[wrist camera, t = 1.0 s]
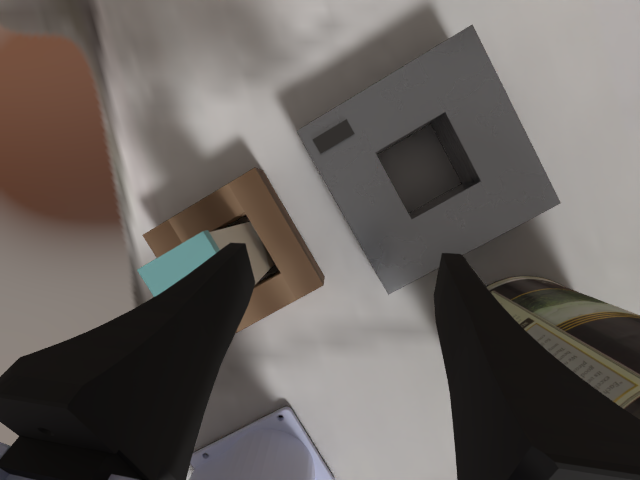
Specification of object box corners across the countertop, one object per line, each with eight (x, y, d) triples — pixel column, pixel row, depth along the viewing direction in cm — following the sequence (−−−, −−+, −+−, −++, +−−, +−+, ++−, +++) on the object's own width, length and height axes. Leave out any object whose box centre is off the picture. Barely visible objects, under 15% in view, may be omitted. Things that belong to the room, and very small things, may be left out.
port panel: (381, 282, 24) (389, 295, 21) (301, 139, 23) (295, 129, 20) (531, 202, 23) (564, 203, 20) (453, 48, 22) (474, 21, 19)
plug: (234, 287, 25) (179, 336, 16) (208, 244, 25) (137, 269, 16) (277, 263, 24) (244, 300, 16) (251, 219, 24) (202, 231, 15)
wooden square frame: (224, 331, 25) (212, 346, 23) (161, 231, 25) (142, 235, 22) (324, 276, 24) (323, 285, 22) (263, 170, 24) (255, 167, 21)
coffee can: (548, 248, 23) (864, 319, 10) (615, 363, 24) (995, 585, 10) (424, 320, 25) (542, 479, 11) (492, 428, 25) (685, 708, 11)
